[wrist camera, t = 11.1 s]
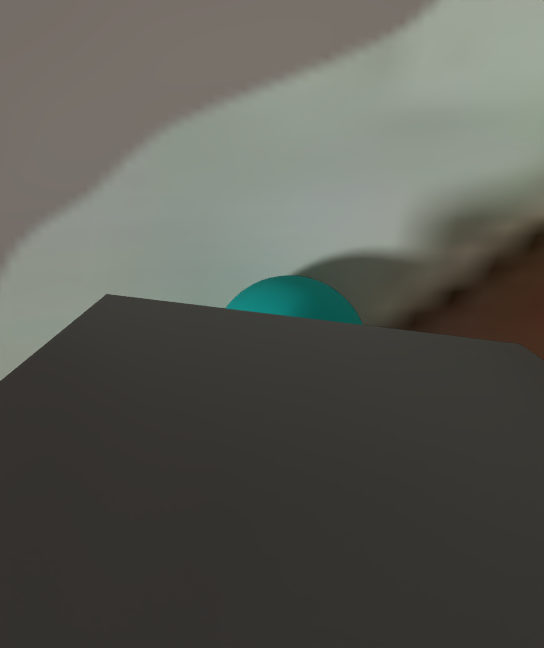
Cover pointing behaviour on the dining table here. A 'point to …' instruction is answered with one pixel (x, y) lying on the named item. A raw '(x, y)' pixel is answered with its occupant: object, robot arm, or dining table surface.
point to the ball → (296, 300)
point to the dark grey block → (269, 485)
